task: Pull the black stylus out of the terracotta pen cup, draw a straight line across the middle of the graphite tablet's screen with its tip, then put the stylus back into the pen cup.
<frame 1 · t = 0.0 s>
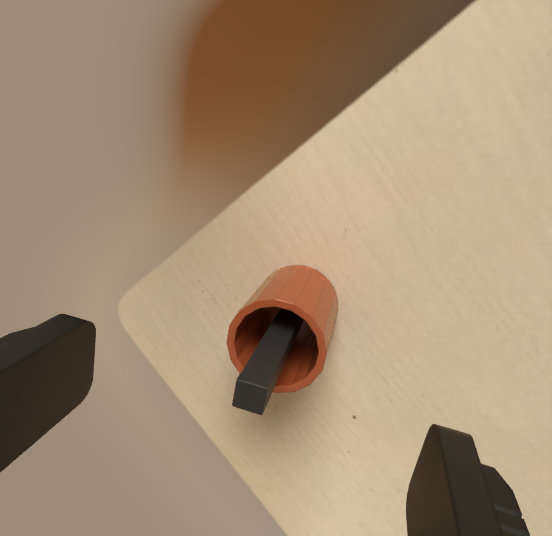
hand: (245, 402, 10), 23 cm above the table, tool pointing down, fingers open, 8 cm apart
pen cup: (298, 302, 34), on the table
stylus: (297, 305, 33), point 1 cm above the table, touching pen cup
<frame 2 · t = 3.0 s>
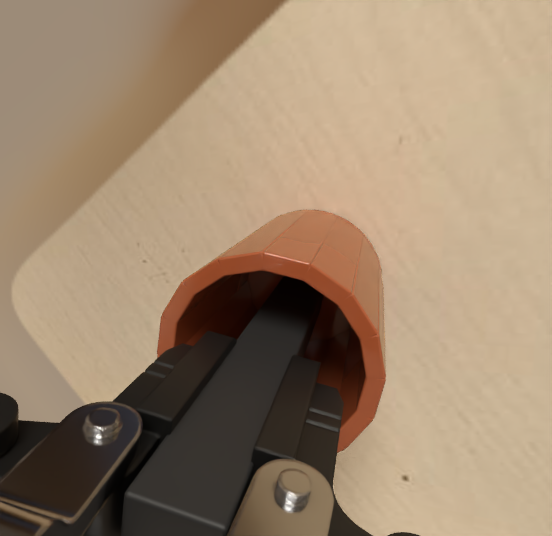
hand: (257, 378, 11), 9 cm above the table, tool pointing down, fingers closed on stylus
pen cup: (309, 279, 19), on the table
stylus: (308, 283, 18), point 1 cm above the table, touching gripper
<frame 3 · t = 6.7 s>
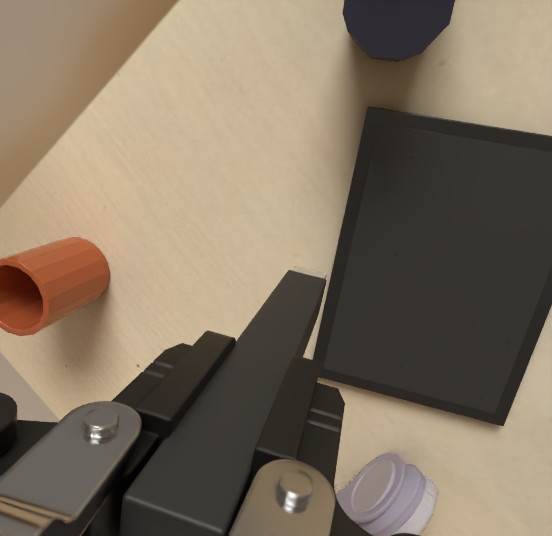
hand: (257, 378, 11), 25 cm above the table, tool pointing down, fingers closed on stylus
tablet: (438, 273, 33), on the table
pen cup: (80, 269, 40), on the table
speaker: (403, 17, 29), on the table
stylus: (307, 284, 18), point 16 cm above the table, touching gripper
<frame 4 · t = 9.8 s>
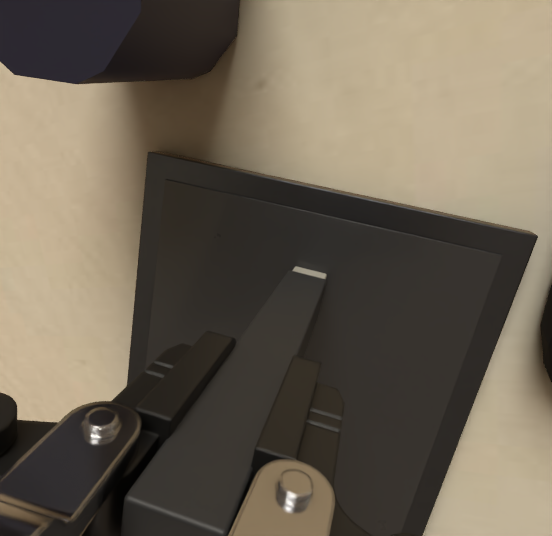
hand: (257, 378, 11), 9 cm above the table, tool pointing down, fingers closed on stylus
tablet: (282, 406, 22), on the table
speaker: (196, 6, 18), on the table
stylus: (307, 284, 18), point 1 cm above the table, touching gripper, tablet
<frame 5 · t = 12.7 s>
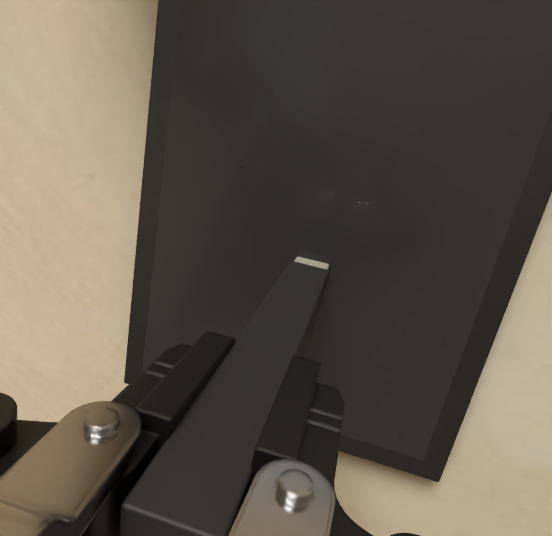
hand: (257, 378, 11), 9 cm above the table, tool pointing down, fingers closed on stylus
tablet: (323, 206, 18), on the table
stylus: (309, 274, 18), point 1 cm above the table, touching gripper
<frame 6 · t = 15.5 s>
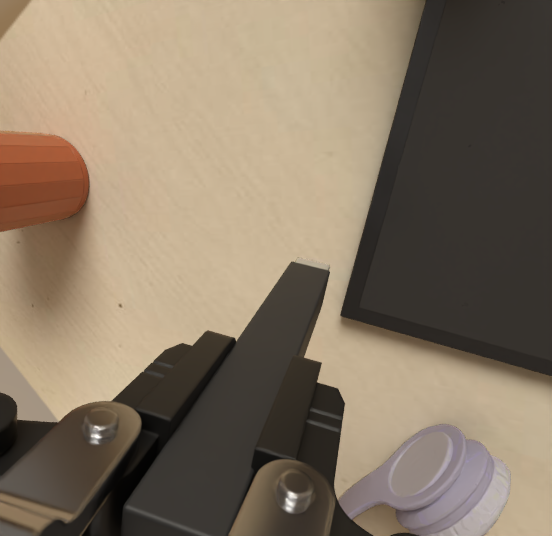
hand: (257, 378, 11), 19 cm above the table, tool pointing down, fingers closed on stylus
tablet: (524, 177, 25), on the table
pen cup: (52, 177, 32), on the table
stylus: (310, 275, 18), point 11 cm above the table, touching gripper
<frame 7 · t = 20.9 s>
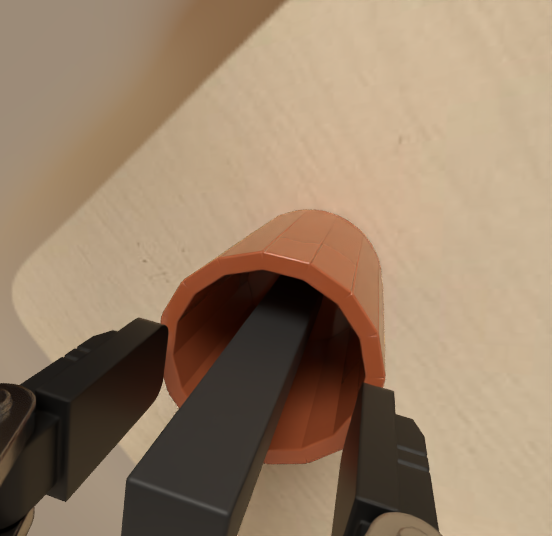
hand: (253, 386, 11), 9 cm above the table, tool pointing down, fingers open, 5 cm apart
pen cup: (309, 279, 19), on the table
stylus: (309, 276, 18), point 1 cm above the table, touching pen cup
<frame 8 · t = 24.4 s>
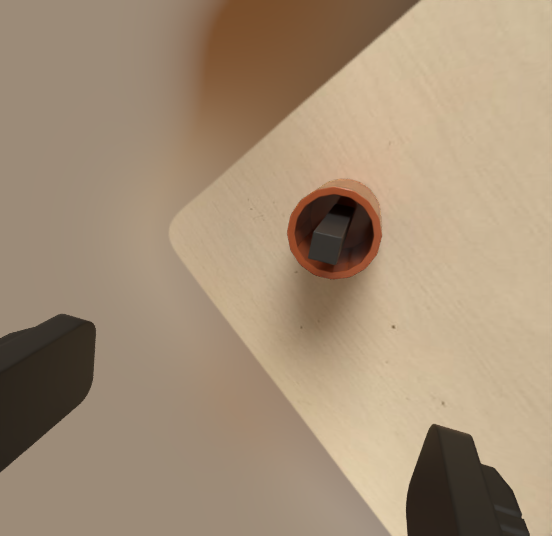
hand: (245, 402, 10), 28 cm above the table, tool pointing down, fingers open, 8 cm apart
pen cup: (342, 216, 36), on the table
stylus: (343, 213, 36), point 1 cm above the table, touching pen cup
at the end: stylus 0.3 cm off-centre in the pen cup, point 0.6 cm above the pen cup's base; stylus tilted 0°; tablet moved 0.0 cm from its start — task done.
